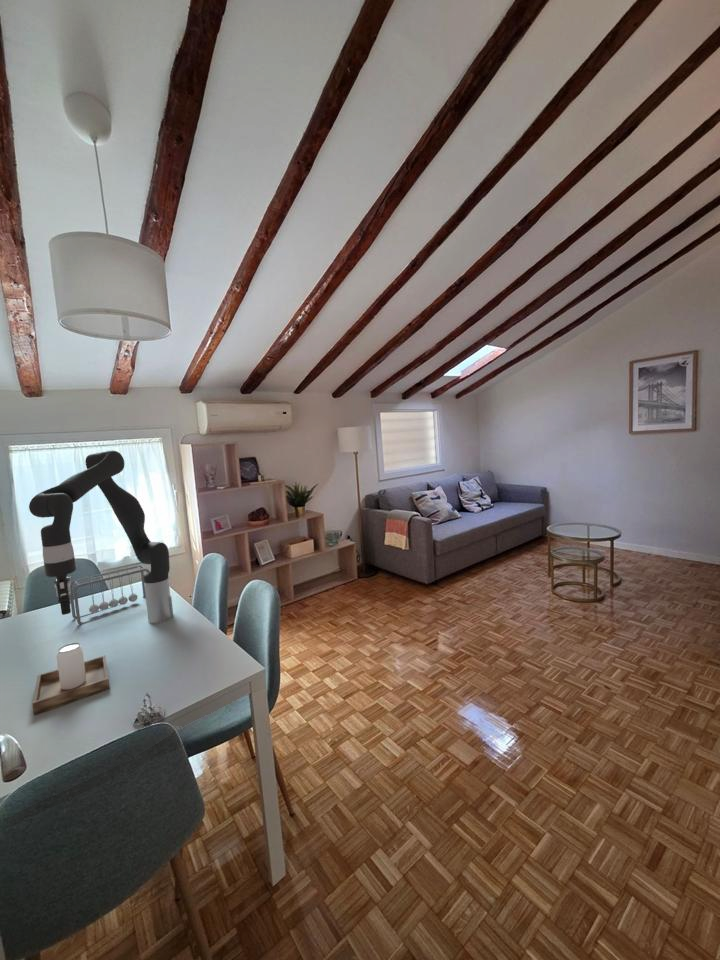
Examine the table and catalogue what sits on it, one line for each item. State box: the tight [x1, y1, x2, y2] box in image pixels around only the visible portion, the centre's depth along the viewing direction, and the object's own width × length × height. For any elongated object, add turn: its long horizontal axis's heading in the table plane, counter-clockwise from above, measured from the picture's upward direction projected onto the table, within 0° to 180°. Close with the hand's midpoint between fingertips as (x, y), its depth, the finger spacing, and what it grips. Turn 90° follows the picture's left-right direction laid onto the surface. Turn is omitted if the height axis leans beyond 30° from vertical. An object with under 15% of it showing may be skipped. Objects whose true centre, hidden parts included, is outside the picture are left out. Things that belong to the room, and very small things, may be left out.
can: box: [56, 642, 86, 690], centre depth 123 cm, size 6×6×12 cm
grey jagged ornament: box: [132, 692, 165, 727], centre depth 104 cm, size 9×9×8 cm
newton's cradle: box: [69, 565, 151, 626], centre depth 183 cm, size 30×10×18 cm, turn 136°
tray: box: [31, 655, 111, 716], centre depth 123 cm, size 18×18×4 cm
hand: (66, 609), depth 124 cm, fingers open, 8 cm apart
